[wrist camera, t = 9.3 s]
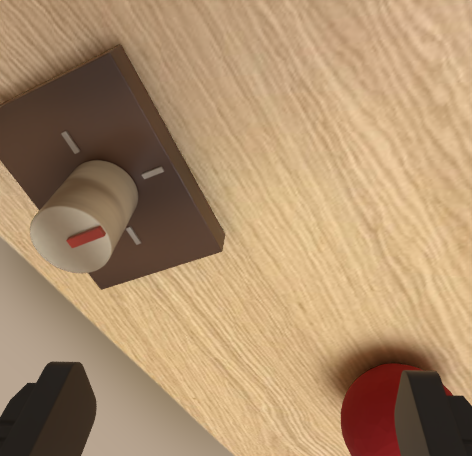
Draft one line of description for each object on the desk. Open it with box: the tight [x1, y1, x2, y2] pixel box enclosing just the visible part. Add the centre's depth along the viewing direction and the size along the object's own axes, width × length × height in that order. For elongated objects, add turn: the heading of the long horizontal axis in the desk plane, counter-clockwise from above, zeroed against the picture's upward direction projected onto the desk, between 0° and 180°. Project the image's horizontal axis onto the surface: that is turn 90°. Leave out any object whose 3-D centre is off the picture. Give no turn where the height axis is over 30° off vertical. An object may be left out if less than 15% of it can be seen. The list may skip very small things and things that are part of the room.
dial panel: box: [0, 45, 225, 290], centre depth 29 cm, size 14×10×2 cm
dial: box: [30, 160, 138, 273], centre depth 26 cm, size 4×4×6 cm
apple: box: [341, 363, 453, 456], centre depth 35 cm, size 9×9×10 cm
